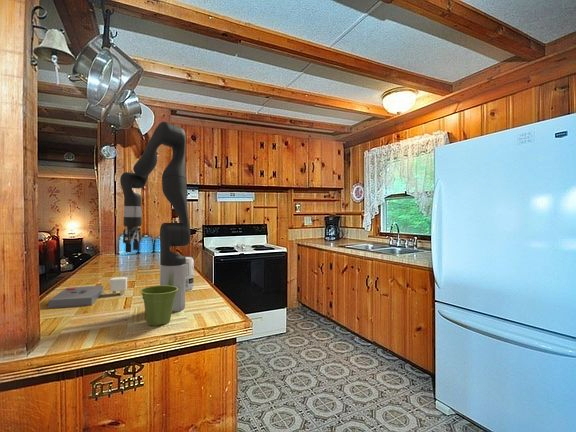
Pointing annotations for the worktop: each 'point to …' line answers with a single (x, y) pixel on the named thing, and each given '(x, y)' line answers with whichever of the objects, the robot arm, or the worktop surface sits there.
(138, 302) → the worktop surface
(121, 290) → the plug
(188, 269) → the supplement can
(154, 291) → the plant pot
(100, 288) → the socket plate
